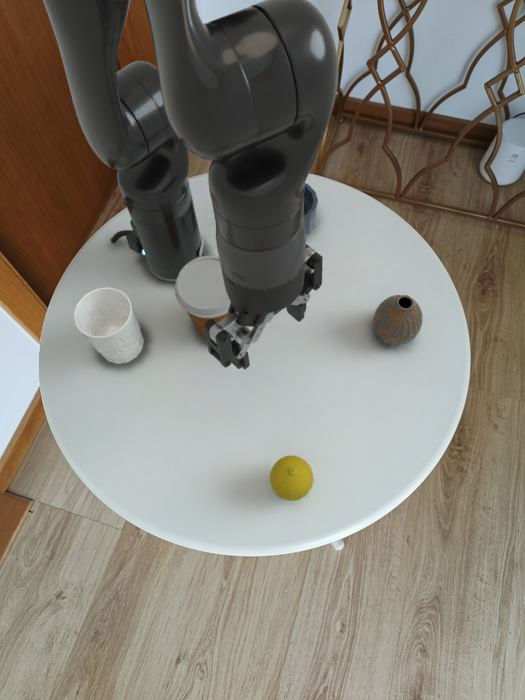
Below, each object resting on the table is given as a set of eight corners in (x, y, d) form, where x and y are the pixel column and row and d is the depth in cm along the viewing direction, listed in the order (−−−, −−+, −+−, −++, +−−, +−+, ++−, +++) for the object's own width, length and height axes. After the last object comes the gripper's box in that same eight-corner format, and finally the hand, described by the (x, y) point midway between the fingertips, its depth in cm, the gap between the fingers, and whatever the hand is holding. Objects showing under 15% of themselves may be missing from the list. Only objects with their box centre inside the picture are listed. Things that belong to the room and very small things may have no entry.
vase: (423, 325, 82) (439, 295, 74) (403, 360, 79) (417, 332, 71) (382, 304, 83) (393, 273, 76) (362, 338, 81) (371, 309, 73)
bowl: (252, 226, 91) (251, 206, 86) (282, 192, 94) (282, 171, 89) (296, 250, 88) (297, 231, 84) (325, 214, 92) (328, 194, 87)
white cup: (158, 342, 82) (143, 310, 73) (119, 377, 79) (98, 348, 70) (124, 312, 84) (106, 277, 75) (85, 345, 82) (62, 313, 73)
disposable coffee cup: (174, 319, 83) (159, 276, 73) (224, 287, 86) (216, 241, 75) (209, 363, 80) (199, 325, 69) (260, 328, 82) (257, 286, 71)
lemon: (307, 509, 70) (311, 498, 63) (266, 501, 71) (265, 488, 64) (314, 468, 73) (318, 453, 65) (274, 460, 73) (274, 444, 66)
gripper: (289, 184, 50) (289, 282, 64) (171, 274, 46) (200, 357, 60) (349, 228, 47) (335, 320, 61) (230, 328, 43) (245, 402, 57)
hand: (268, 338), depth 61 cm, fingers open, 8 cm apart
